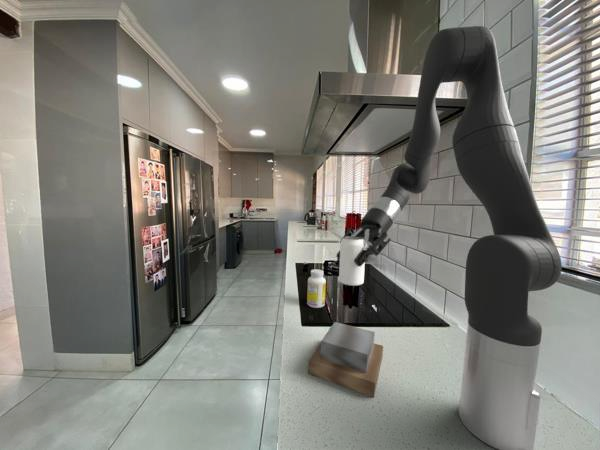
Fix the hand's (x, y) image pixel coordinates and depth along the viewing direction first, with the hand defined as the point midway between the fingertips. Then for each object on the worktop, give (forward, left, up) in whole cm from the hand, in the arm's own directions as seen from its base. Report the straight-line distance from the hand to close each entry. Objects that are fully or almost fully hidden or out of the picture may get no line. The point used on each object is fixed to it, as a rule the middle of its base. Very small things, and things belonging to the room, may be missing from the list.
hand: (347, 261), depth 63 cm
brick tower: (-3, +8, -23) cm, 24 cm away
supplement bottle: (+16, -20, -23) cm, 34 cm away
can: (-1, -1, -6) cm, 6 cm away
